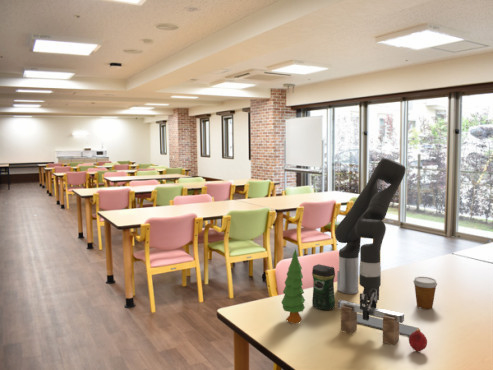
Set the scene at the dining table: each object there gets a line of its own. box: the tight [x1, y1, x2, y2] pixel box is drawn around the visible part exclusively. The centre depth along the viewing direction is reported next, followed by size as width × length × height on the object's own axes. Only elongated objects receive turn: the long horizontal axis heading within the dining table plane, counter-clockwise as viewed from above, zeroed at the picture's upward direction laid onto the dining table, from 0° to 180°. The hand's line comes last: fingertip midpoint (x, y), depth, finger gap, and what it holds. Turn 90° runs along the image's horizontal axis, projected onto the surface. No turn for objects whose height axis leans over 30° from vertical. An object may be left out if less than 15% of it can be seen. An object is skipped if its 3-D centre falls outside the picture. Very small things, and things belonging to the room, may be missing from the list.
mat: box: [357, 313, 420, 337], centre depth 162 cm, size 28×8×1 cm, turn 53°
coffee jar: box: [311, 263, 336, 311], centre depth 180 cm, size 10×8×19 cm
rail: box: [337, 299, 405, 324], centre depth 153 cm, size 24×3×3 cm, turn 53°
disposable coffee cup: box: [413, 276, 438, 310], centre depth 179 cm, size 10×10×12 cm
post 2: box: [382, 315, 400, 346], centre depth 148 cm, size 4×6×10 cm, turn 143°
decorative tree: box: [281, 248, 306, 324], centre depth 166 cm, size 10×9×30 cm
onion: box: [408, 328, 428, 353], centre depth 140 cm, size 6×6×8 cm
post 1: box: [340, 305, 358, 334], centre depth 158 cm, size 4×6×10 cm, turn 143°
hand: (369, 316), depth 153 cm, fingers open, 7 cm apart
